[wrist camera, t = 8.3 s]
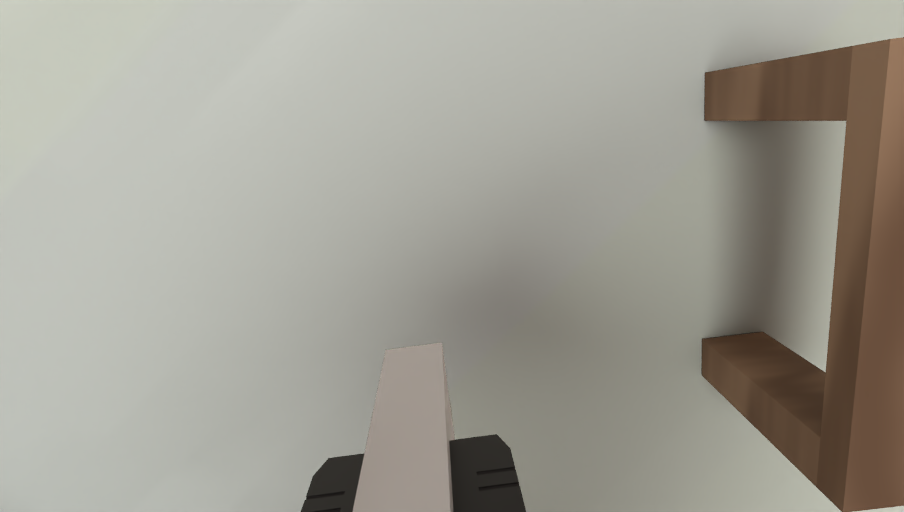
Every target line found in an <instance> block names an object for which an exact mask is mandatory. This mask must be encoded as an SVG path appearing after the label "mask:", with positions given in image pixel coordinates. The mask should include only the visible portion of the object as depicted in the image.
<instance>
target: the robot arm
mask: <svg viewBox="0 0 904 512" xmlns="http://www.w3.org/2000/svg"><path fill="white" fill-rule="evenodd" d="M301 512H526V510H525V506H524V502H523V498H522V494H521V490H520V486H519V482H518V478H517V474H516V470H515V466H514V462H513V457H512V453H511V449H510V448H509V447H508V446H507V445H506V444H505V443H504V442H503V440H502V439H501V438H500V437H499V436H498V435H497V434H496V435H488V436H481V437H473V438H465V439H458V440H455V438H454V428H453V421H452V413H451V406H450V399H449V392H448V384H447V377H446V370H445V362H444V355H443V348H442V342H441V343H433V344H426V345H418V346H410V347H403V348H395V349H387V350H386V351H385V355H384V360H383V365H382V370H381V375H380V380H379V385H378V390H377V394H376V399H375V404H374V409H373V414H372V419H371V424H370V429H369V434H368V438H367V443H366V448H365V453H364V454H357V455H350V456H342V457H334V458H328V460H327V461H326V462H325V463H324V464H323V465H322V467H321V468H320V469H319V470H318V471H317V472H316V473H315V475H314V476H313V478H312V481H311V484H310V487H309V490H308V493H307V496H306V500H305V501H304V504H303V507H302V510H301Z"/></svg>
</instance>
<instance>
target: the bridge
mask: <svg viewBox="0 0 904 512" xmlns="http://www.w3.org/2000/svg"><path fill="white" fill-rule="evenodd" d="M705 121H847V122H846V134H845V146H844V158H843V170H842V182H841V194H840V206H839V219H838V231H837V243H836V255H835V267H834V279H833V291H832V303H831V315H830V328H829V340H828V352H827V364H826V373H825V372H824V371H822V370H821V369H819V368H818V367H816V366H814V365H813V364H811V363H810V362H808V361H807V360H805V359H804V358H802V357H801V356H799V355H798V354H796V353H795V352H793V351H792V350H790V349H789V348H787V347H785V346H784V345H782V344H781V343H779V342H778V341H776V340H775V339H773V338H772V337H770V336H769V335H767V334H766V333H764V332H756V333H748V334H739V335H731V336H723V337H714V338H706V339H702V376H703V377H704V378H705V379H706V380H707V381H708V382H709V383H710V384H711V385H712V386H713V387H714V388H715V389H716V390H717V391H719V392H720V393H721V394H722V395H723V396H724V397H725V398H726V399H727V400H728V401H729V402H730V403H731V404H732V405H733V406H734V407H735V408H736V409H737V410H738V411H739V412H740V413H741V414H742V415H743V416H744V417H745V418H746V419H747V420H748V421H749V422H750V423H751V424H752V425H753V426H754V427H755V428H756V429H758V430H759V431H760V432H761V433H762V434H763V435H764V436H765V437H766V438H767V439H768V440H769V441H770V442H771V443H772V444H773V445H774V446H775V447H776V448H777V449H778V450H779V451H780V452H781V453H782V454H783V455H784V456H785V457H786V458H787V459H788V460H789V461H790V462H791V463H792V464H793V465H794V466H795V467H797V468H798V469H799V470H800V471H801V472H802V473H803V474H804V475H805V476H806V477H807V478H808V479H809V480H810V481H811V482H812V483H813V484H814V485H815V486H816V487H817V488H818V489H819V490H820V491H821V492H822V493H823V494H824V495H825V496H826V497H827V498H828V499H829V500H830V501H831V502H832V503H833V504H834V505H836V506H837V507H838V508H839V509H840V510H841V511H842V512H852V511H861V510H869V509H878V508H887V507H895V506H904V37H903V38H896V39H888V40H883V41H877V42H872V43H866V44H861V45H855V46H850V47H844V48H839V49H833V50H828V51H822V52H817V53H811V54H806V55H800V56H795V57H789V58H784V59H778V60H772V61H767V62H761V63H756V64H750V65H745V66H739V67H734V68H728V69H723V70H717V71H712V72H706V73H705Z"/></svg>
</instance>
